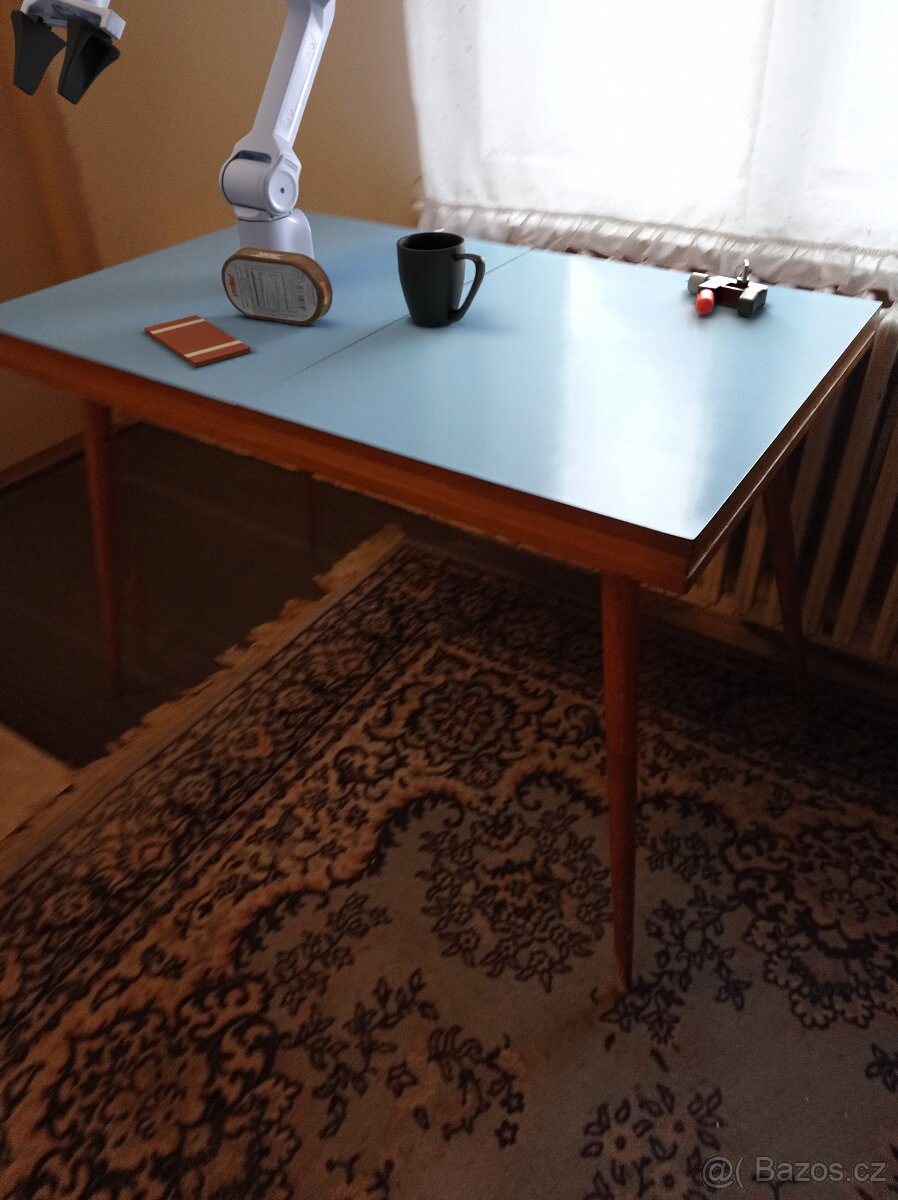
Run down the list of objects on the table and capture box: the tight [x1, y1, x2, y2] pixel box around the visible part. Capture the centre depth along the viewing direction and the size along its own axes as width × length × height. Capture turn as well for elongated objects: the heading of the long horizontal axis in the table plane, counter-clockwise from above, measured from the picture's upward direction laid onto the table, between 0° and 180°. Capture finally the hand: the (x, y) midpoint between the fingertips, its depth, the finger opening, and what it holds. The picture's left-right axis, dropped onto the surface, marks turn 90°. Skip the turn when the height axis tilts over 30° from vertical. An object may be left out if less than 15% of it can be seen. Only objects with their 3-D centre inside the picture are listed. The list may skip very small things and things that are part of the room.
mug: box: [396, 231, 486, 328], centre depth 110 cm, size 8×12×10 cm
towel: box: [143, 314, 252, 368], centre depth 110 cm, size 7×15×1 cm, turn 37°
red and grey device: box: [684, 258, 769, 317], centre depth 113 cm, size 10×12×5 cm
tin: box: [220, 247, 334, 326], centre depth 113 cm, size 15×3×8 cm, turn 65°
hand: (44, 94), depth 96 cm, fingers open, 7 cm apart
